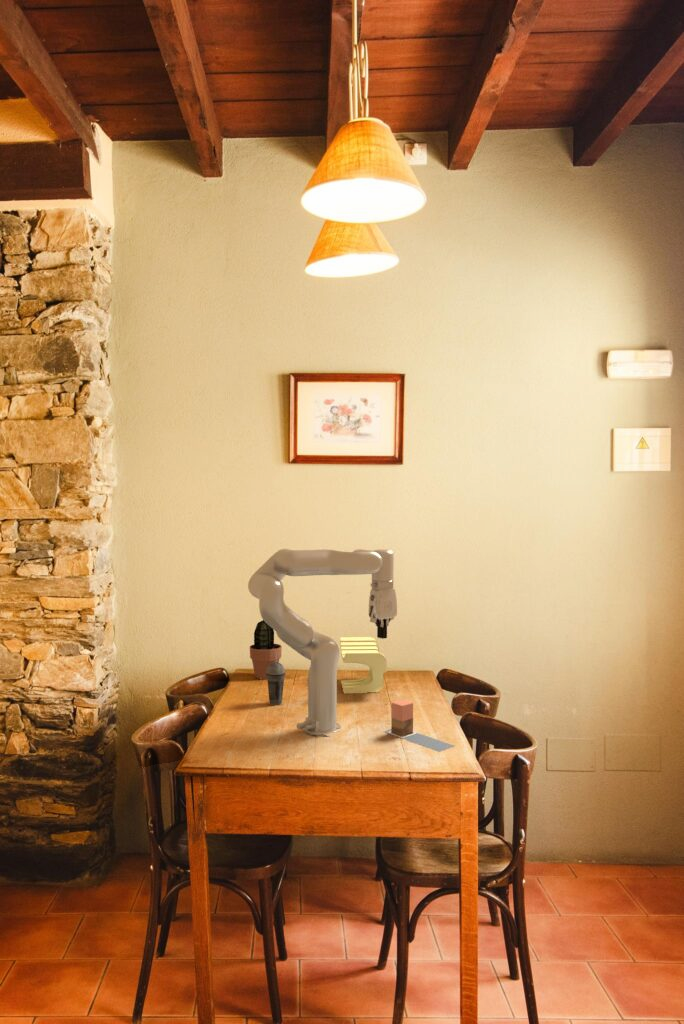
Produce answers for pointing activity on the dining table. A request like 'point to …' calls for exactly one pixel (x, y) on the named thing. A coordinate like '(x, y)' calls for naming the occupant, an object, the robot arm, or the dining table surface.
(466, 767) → the dining table surface
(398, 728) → the walnut block
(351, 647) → the slatted curved stool
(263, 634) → the potted plant
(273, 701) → the beverage cup
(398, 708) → the red block
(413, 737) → the blueprint mat
